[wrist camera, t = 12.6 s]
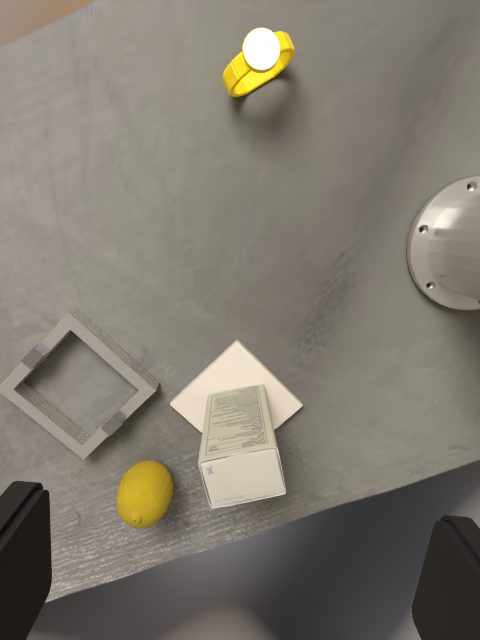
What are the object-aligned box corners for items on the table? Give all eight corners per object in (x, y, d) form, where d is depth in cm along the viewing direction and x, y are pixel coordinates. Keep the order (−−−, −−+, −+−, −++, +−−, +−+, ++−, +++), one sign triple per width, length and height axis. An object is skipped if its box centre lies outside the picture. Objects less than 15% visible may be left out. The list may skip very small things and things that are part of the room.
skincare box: (216, 428, 41) (207, 511, 29) (207, 391, 40) (194, 462, 28) (273, 418, 41) (287, 497, 29) (265, 380, 40) (277, 447, 28)
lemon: (132, 442, 42) (109, 491, 35) (181, 450, 43) (169, 501, 35) (126, 484, 44) (102, 540, 36) (174, 492, 44) (160, 549, 36)
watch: (277, 46, 33) (291, 6, 27) (291, 77, 34) (308, 45, 28) (217, 81, 34) (218, 49, 28) (232, 112, 34) (237, 87, 28)
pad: (237, 339, 40) (237, 341, 39) (301, 402, 41) (302, 405, 41) (171, 400, 41) (169, 404, 40) (235, 458, 43) (235, 463, 42)
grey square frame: (76, 307, 39) (64, 314, 36) (159, 382, 41) (154, 394, 38) (7, 381, 41) (-9, 392, 38) (90, 448, 43) (80, 464, 40)
